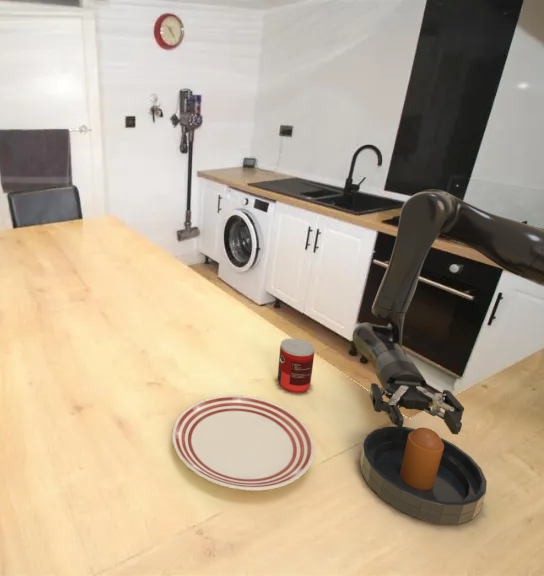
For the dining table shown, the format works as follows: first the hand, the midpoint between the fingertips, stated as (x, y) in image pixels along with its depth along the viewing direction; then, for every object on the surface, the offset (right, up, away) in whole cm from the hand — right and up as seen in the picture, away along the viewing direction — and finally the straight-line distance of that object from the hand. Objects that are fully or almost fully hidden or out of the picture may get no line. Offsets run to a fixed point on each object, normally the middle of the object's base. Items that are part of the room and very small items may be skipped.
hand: (428, 427), depth 69 cm
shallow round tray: (0, -11, +4) cm, 11 cm away
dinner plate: (-29, -8, +13) cm, 33 cm away
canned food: (-12, -1, +33) cm, 35 cm away
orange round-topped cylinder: (0, -10, +3) cm, 11 cm away
